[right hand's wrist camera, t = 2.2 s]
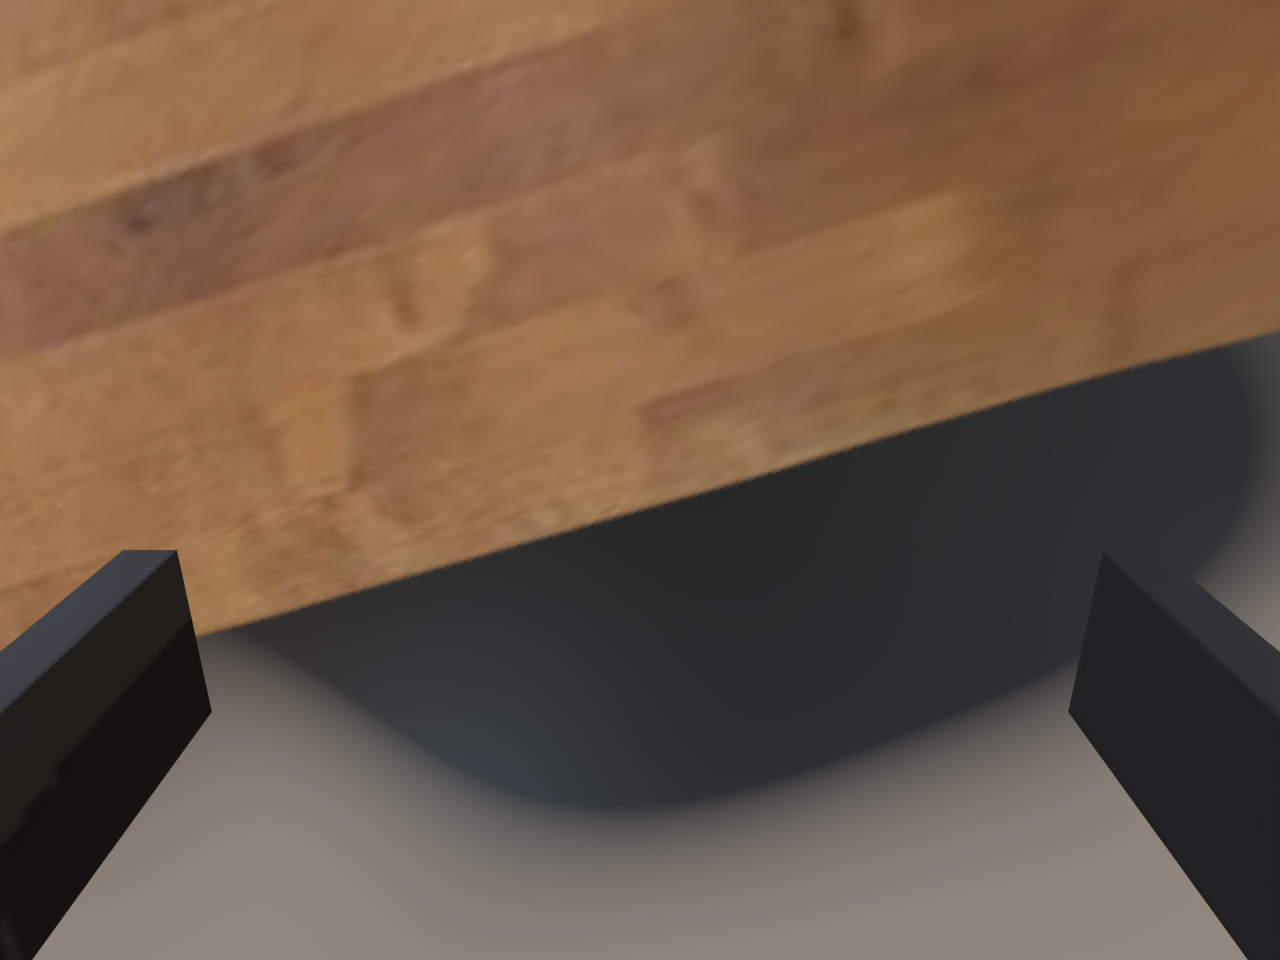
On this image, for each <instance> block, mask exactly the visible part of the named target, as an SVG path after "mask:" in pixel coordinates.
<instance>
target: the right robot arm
mask: <svg viewBox="0 0 1280 960" xmlns="http://www.w3.org/2000/svg"><path fill="white" fill-rule="evenodd" d="M211 712H212V711H211V706H210V702H209V697H208V692H207V688H206V683H205V678H204V674H203V669H202V664H201V660H200V655H199V651H198V646H197V641H196V637H195V632H194V627H193V623H192V618H191V613H190V609H189V604H188V600H187V595H186V590H185V586H184V581H183V576H182V572H181V567H180V562H179V558H178V553H177V550H123V551H121V552H120V553H119V554H118V555H116V556H115V557H114V558H113V559H112V560H110V561H109V562H108V563H107V564H106V565H104V566H103V567H102V568H101V569H100V570H98V571H97V572H96V573H95V574H94V575H92V576H91V577H90V578H89V579H88V580H86V581H85V582H84V583H83V584H82V585H80V586H79V587H78V588H77V589H76V590H74V591H73V592H72V593H71V594H70V595H68V596H67V597H66V598H65V599H64V600H62V601H61V602H60V603H59V604H58V605H56V606H55V607H54V608H53V609H51V610H50V611H49V612H48V613H47V614H45V615H44V616H43V617H42V618H41V619H39V620H38V621H37V622H36V623H35V624H33V625H32V626H31V627H30V628H29V629H27V630H26V631H25V632H24V633H23V634H21V635H20V636H19V637H18V638H17V639H15V640H14V641H13V642H12V643H11V644H9V645H8V646H7V647H6V648H5V649H3V650H2V651H1V652H0V960H32V959H33V958H34V956H35V955H36V954H37V952H38V951H39V950H40V948H41V947H42V945H43V944H44V943H45V941H46V940H47V939H48V937H49V936H50V934H51V933H52V932H53V930H54V929H55V928H56V926H57V925H58V923H59V922H60V921H61V919H62V918H63V916H64V915H65V914H66V912H67V911H68V910H69V908H70V907H71V905H72V904H73V903H74V901H75V900H76V899H77V897H78V896H79V894H80V893H81V892H82V890H83V889H84V887H85V886H86V885H87V883H88V882H89V881H90V879H91V878H92V876H93V875H94V874H95V872H96V871H97V869H98V868H99V867H100V865H101V864H102V863H103V861H104V860H105V859H106V857H107V856H108V854H109V853H110V852H111V850H112V849H113V847H114V846H115V845H116V843H117V842H118V841H119V839H120V838H121V836H122V835H123V834H124V832H125V831H126V830H127V828H128V827H129V825H130V824H131V823H132V821H133V820H134V818H135V817H136V816H137V814H138V813H139V812H140V810H141V809H142V807H143V806H144V805H145V803H146V802H147V801H148V799H149V798H150V796H151V795H152V794H153V792H154V791H155V789H156V788H157V787H158V785H159V784H160V783H161V781H162V780H163V778H164V777H165V776H166V774H167V773H168V772H169V770H170V769H171V767H172V766H173V765H174V763H175V762H176V760H177V759H178V758H179V756H180V755H181V754H182V752H183V751H184V749H185V748H186V747H187V745H188V744H189V743H190V741H191V740H192V738H193V737H194V736H195V734H196V733H197V732H198V730H199V729H200V727H201V726H202V725H203V723H204V722H205V720H206V719H207V718H208V716H209V715H210V714H211ZM1068 712H1069V714H1070V715H1071V716H1072V718H1073V719H1074V720H1075V722H1076V723H1077V725H1078V726H1079V727H1080V729H1081V730H1082V732H1083V733H1084V734H1085V736H1086V737H1087V738H1088V740H1089V741H1090V743H1091V744H1092V745H1093V747H1094V748H1095V749H1096V751H1097V752H1098V754H1099V755H1100V756H1101V758H1102V759H1103V760H1104V762H1105V763H1106V764H1107V766H1108V767H1109V769H1110V770H1111V772H1112V773H1113V774H1114V776H1115V777H1116V778H1117V780H1118V781H1119V783H1120V784H1121V785H1122V787H1123V788H1124V789H1125V791H1126V792H1127V794H1128V795H1129V796H1130V798H1131V799H1132V801H1133V802H1134V803H1135V805H1136V806H1137V807H1138V809H1139V810H1140V812H1141V813H1142V814H1143V816H1144V817H1145V818H1146V820H1147V821H1148V823H1149V824H1150V825H1151V827H1152V828H1153V830H1154V831H1155V832H1156V834H1157V835H1158V836H1159V838H1160V839H1161V841H1162V842H1163V843H1164V845H1165V846H1166V847H1167V849H1168V850H1169V852H1170V853H1171V854H1172V856H1173V857H1174V859H1175V860H1176V861H1177V863H1178V864H1179V865H1180V867H1181V868H1182V869H1183V871H1184V872H1185V874H1186V875H1187V876H1188V878H1189V879H1190V881H1191V882H1192V883H1193V885H1194V886H1195V888H1196V889H1197V890H1198V892H1199V893H1200V894H1201V896H1202V897H1203V899H1204V900H1205V901H1206V903H1207V904H1208V905H1209V907H1210V908H1211V910H1212V911H1213V912H1214V914H1215V915H1216V916H1217V918H1218V919H1219V921H1220V922H1221V923H1222V925H1223V926H1224V928H1225V929H1226V930H1227V932H1228V933H1229V934H1230V936H1231V937H1232V939H1233V940H1234V941H1235V943H1236V944H1237V945H1238V947H1239V948H1240V950H1241V951H1242V952H1243V954H1244V955H1245V956H1246V958H1247V959H1248V960H1280V652H1279V651H1278V650H1277V649H1275V648H1274V647H1273V646H1272V645H1271V644H1269V643H1268V642H1267V641H1266V640H1265V639H1263V638H1262V637H1261V636H1260V635H1259V634H1257V633H1256V632H1255V631H1254V630H1253V629H1251V628H1250V627H1249V626H1248V625H1247V624H1245V623H1244V622H1243V621H1242V620H1241V619H1239V618H1238V617H1237V616H1236V615H1234V614H1233V613H1232V612H1231V611H1230V610H1229V609H1227V608H1226V607H1225V606H1224V605H1222V604H1221V603H1220V602H1219V601H1218V600H1216V599H1215V598H1214V597H1213V596H1212V595H1210V594H1209V593H1208V592H1207V591H1206V590H1204V589H1203V588H1202V587H1201V586H1200V585H1198V584H1197V583H1196V582H1195V581H1194V580H1192V579H1191V578H1190V577H1189V576H1188V575H1186V574H1185V573H1184V572H1183V571H1182V570H1180V569H1179V568H1178V567H1177V566H1176V565H1174V564H1173V563H1172V562H1171V561H1170V560H1168V559H1167V558H1166V557H1165V556H1164V555H1162V554H1161V553H1160V552H1159V551H1157V550H1103V553H1102V558H1101V563H1100V567H1099V572H1098V576H1097V581H1096V586H1095V590H1094V595H1093V600H1092V604H1091V609H1090V613H1089V618H1088V623H1087V627H1086V632H1085V637H1084V641H1083V646H1082V651H1081V655H1080V660H1079V665H1078V669H1077V674H1076V678H1075V683H1074V688H1073V692H1072V697H1071V702H1070V706H1069V711H1068Z"/></svg>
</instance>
